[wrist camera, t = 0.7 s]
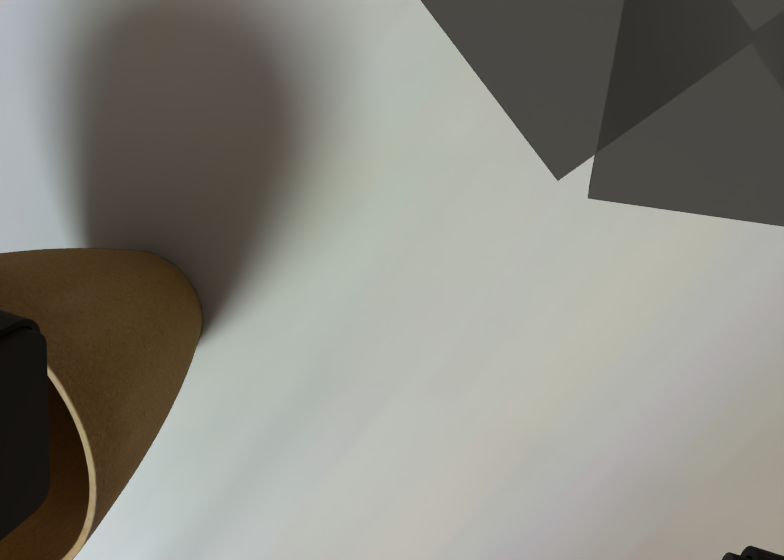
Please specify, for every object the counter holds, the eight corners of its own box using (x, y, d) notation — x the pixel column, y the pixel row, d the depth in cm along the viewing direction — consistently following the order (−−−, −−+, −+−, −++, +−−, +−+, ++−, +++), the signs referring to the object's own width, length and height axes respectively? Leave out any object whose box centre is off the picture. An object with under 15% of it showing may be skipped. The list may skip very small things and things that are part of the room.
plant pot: (269, 425, 46) (115, 617, 32) (67, 394, 50) (-153, 553, 36) (253, 193, 41) (60, 297, 27) (28, 178, 45) (-247, 262, 30)
